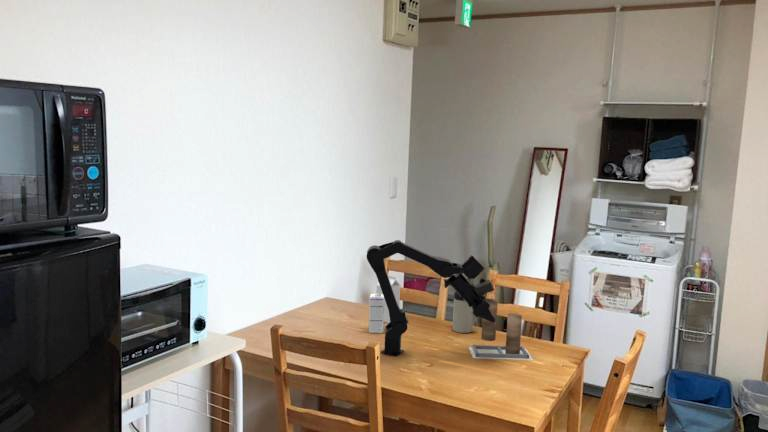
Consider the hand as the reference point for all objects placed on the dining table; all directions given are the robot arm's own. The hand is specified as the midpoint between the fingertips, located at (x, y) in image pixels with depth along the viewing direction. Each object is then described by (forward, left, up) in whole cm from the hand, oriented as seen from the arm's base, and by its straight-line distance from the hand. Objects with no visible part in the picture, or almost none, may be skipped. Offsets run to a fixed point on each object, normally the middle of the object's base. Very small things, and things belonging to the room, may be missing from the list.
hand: (493, 319), depth 225 cm
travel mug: (+22, +21, -13) cm, 33 cm away
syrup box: (+1, +49, -13) cm, 50 cm away
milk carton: (+17, +53, -13) cm, 57 cm away
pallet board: (+1, -3, -13) cm, 14 cm away
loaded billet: (+4, -6, -12) cm, 14 cm away
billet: (-1, +1, -7) cm, 7 cm away
